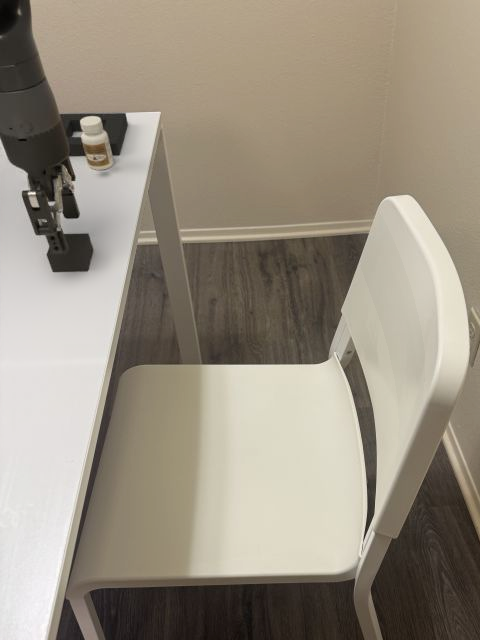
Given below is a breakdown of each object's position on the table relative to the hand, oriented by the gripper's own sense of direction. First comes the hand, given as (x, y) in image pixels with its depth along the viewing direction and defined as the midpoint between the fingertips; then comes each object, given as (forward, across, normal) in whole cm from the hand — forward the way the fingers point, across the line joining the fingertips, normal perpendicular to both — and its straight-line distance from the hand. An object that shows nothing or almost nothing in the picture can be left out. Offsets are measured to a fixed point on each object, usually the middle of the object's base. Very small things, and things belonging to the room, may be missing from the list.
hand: (67, 234), depth 85 cm
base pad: (+4, -37, -4) cm, 38 cm away
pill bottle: (+5, -28, -1) cm, 28 cm away
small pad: (+4, 0, 0) cm, 5 cm away
